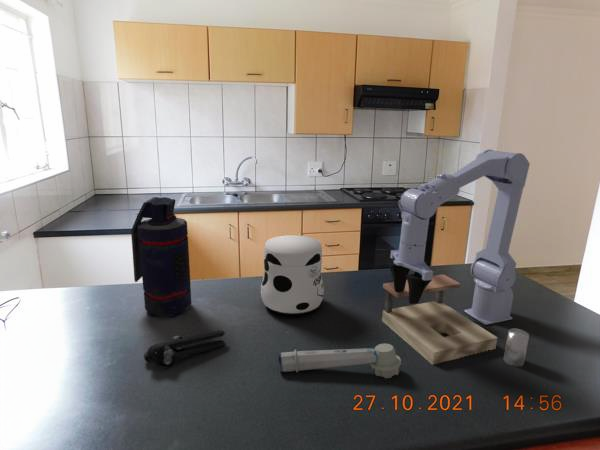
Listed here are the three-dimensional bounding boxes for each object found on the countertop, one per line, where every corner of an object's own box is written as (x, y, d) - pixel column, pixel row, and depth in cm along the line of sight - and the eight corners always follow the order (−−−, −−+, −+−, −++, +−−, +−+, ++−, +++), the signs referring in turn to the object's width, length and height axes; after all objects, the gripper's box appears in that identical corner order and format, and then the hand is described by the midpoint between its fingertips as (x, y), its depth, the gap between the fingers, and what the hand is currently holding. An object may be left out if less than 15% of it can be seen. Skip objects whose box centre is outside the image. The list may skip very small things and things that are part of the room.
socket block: (438, 309, 113) (443, 274, 110) (497, 348, 95) (504, 307, 92) (379, 320, 106) (383, 283, 103) (430, 365, 88) (436, 321, 85)
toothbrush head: (279, 346, 87) (396, 335, 86) (283, 373, 89) (398, 362, 88) (277, 361, 82) (402, 349, 81) (282, 389, 84) (403, 377, 83)
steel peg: (512, 354, 93) (517, 327, 91) (527, 364, 89) (533, 336, 87) (499, 357, 92) (504, 330, 90) (514, 368, 88) (519, 339, 86)
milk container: (335, 309, 112) (339, 247, 107) (281, 327, 102) (282, 259, 97) (300, 287, 125) (301, 230, 120) (249, 300, 116) (249, 240, 111)
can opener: (150, 378, 82) (148, 353, 81) (142, 360, 88) (140, 337, 86) (232, 351, 92) (231, 329, 90) (219, 337, 97) (219, 316, 96)
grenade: (196, 299, 116) (191, 195, 107) (184, 320, 104) (177, 205, 96) (148, 297, 116) (139, 193, 108) (130, 318, 104) (118, 204, 96)
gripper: (381, 233, 98) (376, 286, 102) (415, 253, 85) (408, 313, 89) (407, 232, 100) (401, 283, 104) (444, 251, 87) (435, 309, 91)
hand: (406, 297), depth 96 cm, fingers open, 6 cm apart
